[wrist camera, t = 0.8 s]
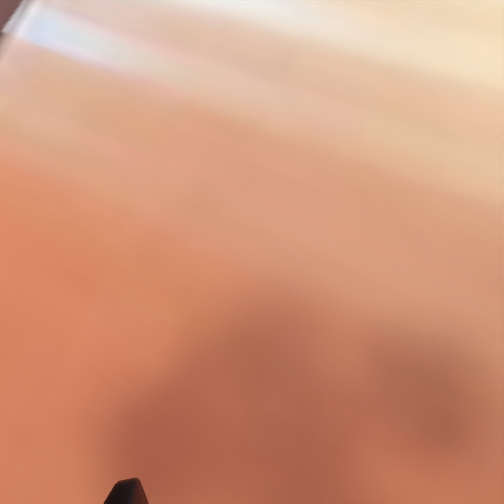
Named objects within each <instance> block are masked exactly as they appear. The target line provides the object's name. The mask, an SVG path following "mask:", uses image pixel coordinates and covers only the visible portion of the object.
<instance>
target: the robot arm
mask: <svg viewBox="0 0 504 504" xmlns="http://www.w3.org/2000/svg"><path fill="white" fill-rule="evenodd" d="M104 504H149V503H148V500H147V498H146V495H145V492H144V490H143V487H142V485H141V482H140V480H139V479H138V478H131V479H126V480H121V481H118V482H117V483H116V484H115V485H114V487H113V488H112V490H111V492H110V494H109V495H108V497H107V499H106V500H105V502H104Z"/></svg>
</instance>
